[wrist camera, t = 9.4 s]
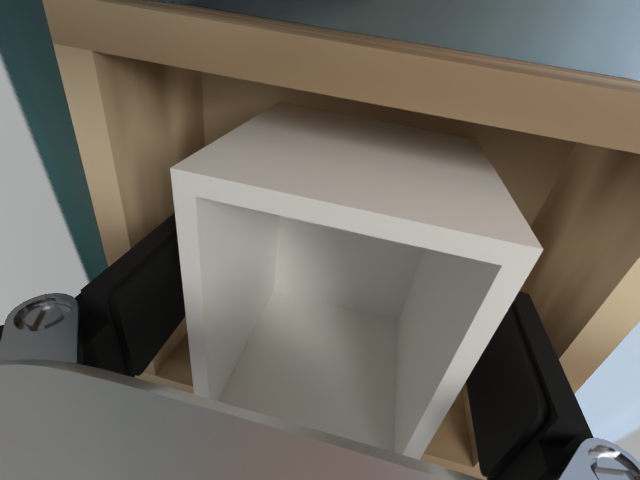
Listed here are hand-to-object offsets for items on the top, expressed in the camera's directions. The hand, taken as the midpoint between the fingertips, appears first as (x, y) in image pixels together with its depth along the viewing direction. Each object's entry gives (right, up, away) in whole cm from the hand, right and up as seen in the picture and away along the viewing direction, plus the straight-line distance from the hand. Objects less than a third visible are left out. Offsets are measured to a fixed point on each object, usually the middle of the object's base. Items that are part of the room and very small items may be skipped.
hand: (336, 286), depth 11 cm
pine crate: (+1, +2, +4) cm, 5 cm away
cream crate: (+1, +2, +4) cm, 4 cm away
